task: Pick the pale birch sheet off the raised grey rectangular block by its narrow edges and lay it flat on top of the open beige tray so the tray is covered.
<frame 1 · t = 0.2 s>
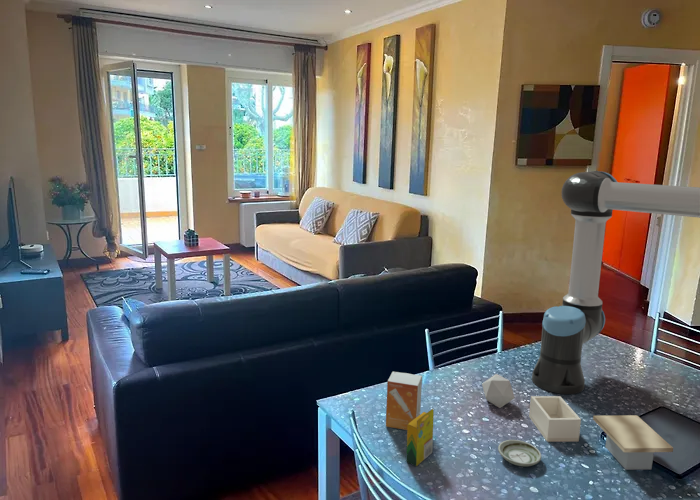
die: (497, 403, 148), on the table
small box: (403, 424, 136), on the table
sheet: (630, 434, 121), point 6 cm above the table, touching grey rectangular block
grey rectangular block: (627, 457, 123), on the table
crayon box: (419, 458, 122), on the table
saucer: (518, 460, 121), on the table
open beige tray: (552, 428, 135), on the table
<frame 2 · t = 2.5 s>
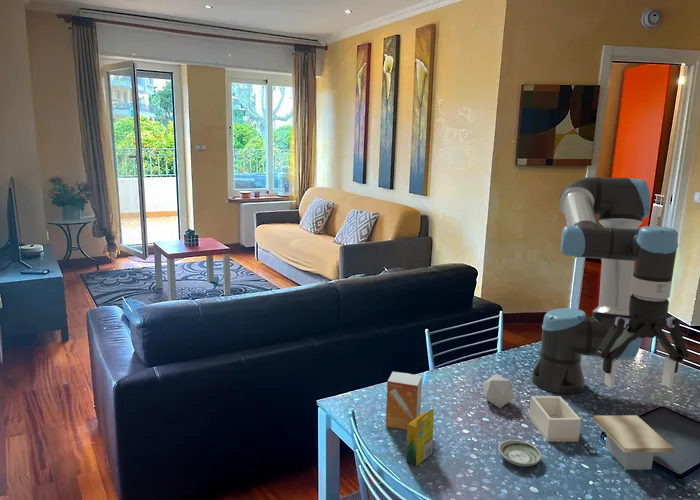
hand: (637, 385, 119), 18 cm above the table, tool pointing down, fingers open, 13 cm apart
nothing on the table moved.
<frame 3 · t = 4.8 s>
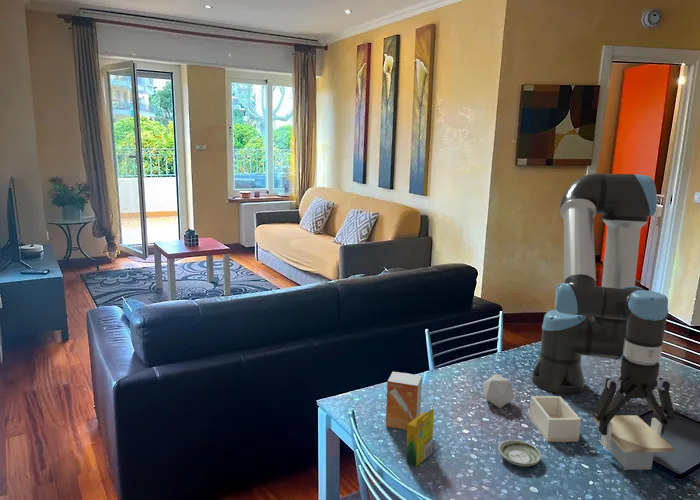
hand: (629, 446, 122), 3 cm above the table, tool pointing down, fingers closed on sheet, 11 cm apart
sheet: (630, 434, 121), point 6 cm above the table, touching gripper, grey rectangular block
everything else where it was.
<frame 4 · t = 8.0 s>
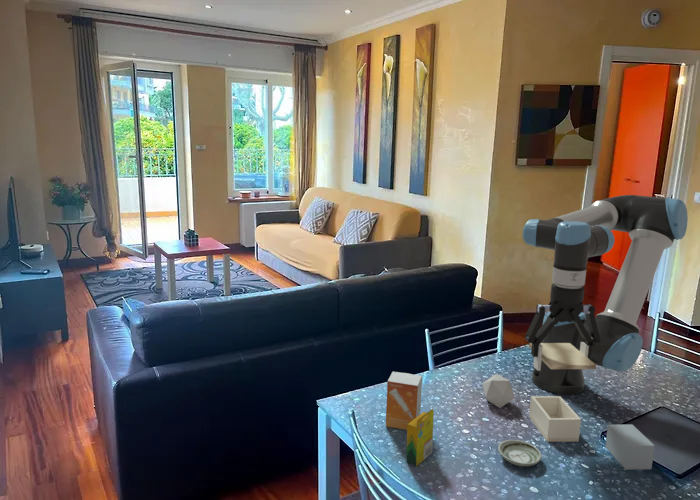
hand: (559, 368, 131), 17 cm above the table, tool pointing down, fingers closed on sheet, 11 cm apart
sheet: (560, 357, 131), point 20 cm above the table, touching gripper
everything else where it was.
when the fingers open (5 cm above the table, at t = 11.2 s): sheet drops 2 cm, resting on open beige tray.
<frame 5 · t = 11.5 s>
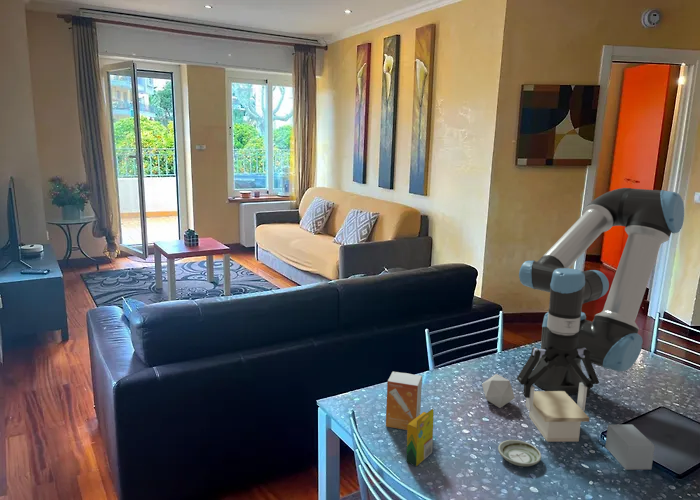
hand: (554, 408, 134), 6 cm above the table, tool pointing down, fingers open, 13 cm apart
sheet: (555, 407, 134), point 6 cm above the table, touching open beige tray
everything else where it was.
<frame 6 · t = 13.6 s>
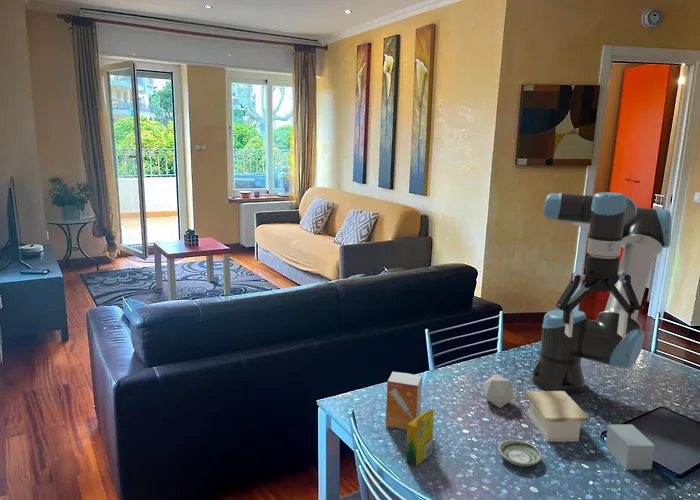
hand: (594, 335, 133), 24 cm above the table, tool pointing down, fingers open, 13 cm apart
nothing on the table moved.
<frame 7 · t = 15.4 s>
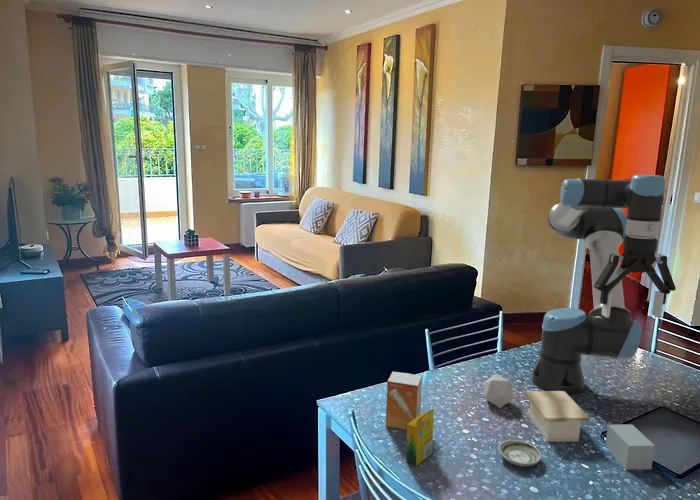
hand: (630, 316, 136), 29 cm above the table, tool pointing down, fingers open, 13 cm apart
nothing on the table moved.
at the end: sheet 0.0 cm off-centre on the open beige tray, point 6.0 cm above the open beige tray's base; sheet tilted 0°; the gripper is holding nothing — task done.
